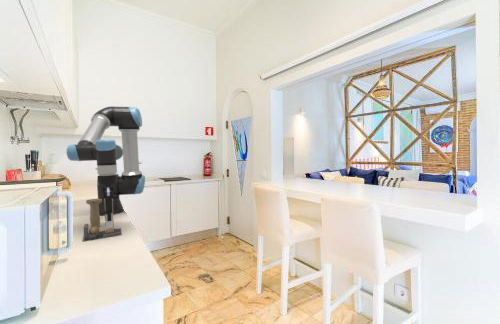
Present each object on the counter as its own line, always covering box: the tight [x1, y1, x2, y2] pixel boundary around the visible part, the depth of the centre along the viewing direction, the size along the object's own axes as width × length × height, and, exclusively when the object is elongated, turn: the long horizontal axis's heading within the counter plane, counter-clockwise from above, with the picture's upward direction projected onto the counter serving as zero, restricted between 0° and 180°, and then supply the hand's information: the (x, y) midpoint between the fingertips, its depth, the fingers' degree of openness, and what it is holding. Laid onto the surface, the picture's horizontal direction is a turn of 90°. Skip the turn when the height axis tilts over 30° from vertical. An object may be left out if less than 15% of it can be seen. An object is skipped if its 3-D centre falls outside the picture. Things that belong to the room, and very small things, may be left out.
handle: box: [85, 198, 102, 229], centre depth 118 cm, size 5×6×15 cm
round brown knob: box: [88, 227, 100, 235], centre depth 107 cm, size 4×4×4 cm
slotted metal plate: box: [81, 223, 123, 242], centre depth 109 cm, size 11×14×6 cm
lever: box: [104, 198, 115, 234], centre depth 110 cm, size 4×4×15 cm
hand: (109, 226), depth 110 cm, fingers closed on lever, 3 cm apart
